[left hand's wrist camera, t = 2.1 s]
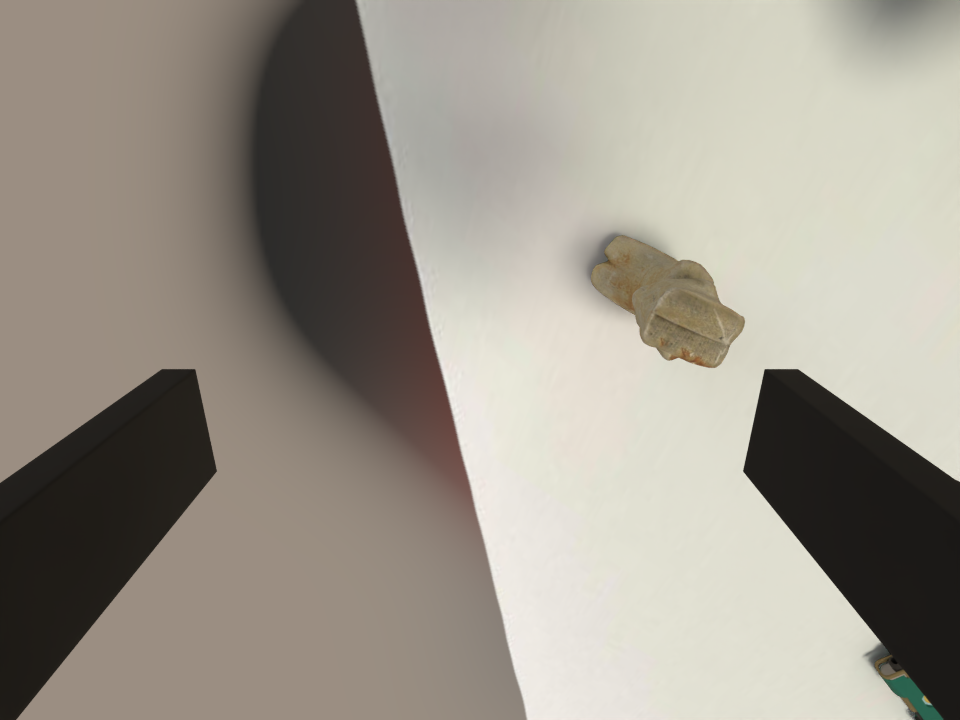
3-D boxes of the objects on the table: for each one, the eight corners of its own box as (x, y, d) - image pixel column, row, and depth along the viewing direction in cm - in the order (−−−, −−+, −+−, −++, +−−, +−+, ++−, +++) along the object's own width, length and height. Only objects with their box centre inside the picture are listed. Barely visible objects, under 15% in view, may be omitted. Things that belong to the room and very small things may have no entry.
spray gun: (1018, 698, 61) (878, 728, 64) (1018, 602, 54) (862, 640, 57) (1053, 739, 57) (903, 768, 60) (1059, 641, 50) (889, 679, 53)
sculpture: (618, 218, 41) (689, 256, 27) (696, 263, 42) (801, 322, 28) (577, 284, 43) (623, 352, 29) (652, 325, 44) (731, 410, 30)
